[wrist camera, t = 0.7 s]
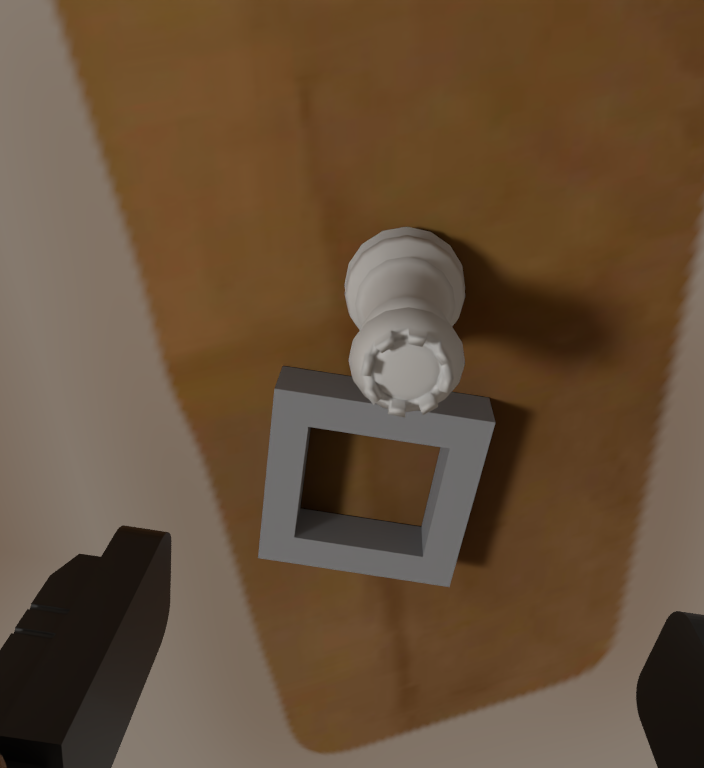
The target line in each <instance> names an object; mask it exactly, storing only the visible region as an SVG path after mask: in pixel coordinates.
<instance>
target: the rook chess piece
mask: <svg viewBox="0 0 704 768" xmlns="http://www.w3.org/2000/svg"><path fill="white" fill-rule="evenodd" d="M344 286H345V297H346V302H347V307H348V311H349V315H350V317H351V318H352V320H353V321H354V323H355V324H356V325H357V327H358V328H359V330H360V331H359V333H358V334H357V335H356V337H355V338H354V339H353V342H352V347H351V352H350V356H349V364H350V369H351V373H352V378H353V381H354V382H355V384H356V385H357V386H358V388H359V389H360V390H361V392H362V393H363V395H364V396H365V397H366V398H368V399H369V400H370V401H371V403H372V404H373V405H374V404H375V403H376V404H377V405H379V406H381V407H382V408H386V409H388V414H390V415H395V416H399V417H404V418H405V412H411V411H418V410H421V412H422V415H424V414H426V413H428V412H430V411H432V410H434V409H436V408H437V407H438V403H439V402H441V401H443V400H445V399H446V398H447V396H448V395H449V394H450V393H451V392H452V391H453V389H454V388H455V387H456V386H457V385H458V384H459V381H460V378H461V375H462V372H463V368H464V365H465V359H464V352H463V344H462V342H461V340H460V338H459V337H458V335H457V334H456V332H455V331H454V329H453V327H452V326H453V325H454V324H455V323H456V321H457V320H458V318H459V316H460V313H461V309H462V306H463V302H464V299H465V283H464V275H463V267H462V264H461V263H460V261H459V259H458V258H457V256H456V254H455V253H454V251H453V249H452V248H451V246H450V245H449V244H447V243H446V242H444V241H443V240H442V239H440V238H439V237H437V236H436V235H434V234H433V233H432V232H429V231H424V230H420V229H415V228H411V227H402V228H397V229H391V230H386V231H382V232H380V233H379V234H377V235H376V236H374V237H373V238H371V239H370V240H368V241H366V242H365V243H363V244H362V245H361V247H360V248H359V250H358V251H357V253H356V254H355V255H354V257H353V258H352V260H351V261H350V263H349V266H348V271H347V276H346V281H345V285H344Z"/></svg>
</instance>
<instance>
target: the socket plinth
mask: <svg viewBox="0 0 704 768" xmlns="http://www.w3.org/2000/svg"><path fill="white" fill-rule="evenodd" d="M494 426H495V419H494V415H493V411H492V407H491V403H490V399H489V398H487V397H481V396H474V395H468V394H461V393H455V392H451V393H450V394H449V395H448V396H447V398H446V399H445V400H443V401H441V402H439V403H438V407H437V408H436V409H434V410H432V411H430V412H428V413H426V414H424V415H422V412H421V410H418V411H411V412H405V418H404V417H399V416H395V415H390V414H388V409H386V408H382V407H381V406H379V405H377V404H376V403H375V404H374V405H373V404H372V403H371V401H370V400H369V399H368V398H366V397H365V396H364V395H363V393H362V392H361V390H360V389H359V388H358V386H357V385H356V384H355V382H354V381H353V378H352V377H351V376H345V375H338V374H332V373H325V372H319V371H312V370H306V369H299V368H293V367H286V366H283V367H282V370H281V372H280V375H279V378H278V381H277V383H276V386H275V390H274V400H273V410H272V420H271V431H270V441H269V451H268V462H267V472H266V482H265V493H264V503H263V513H262V524H261V534H260V544H259V555H258V558H262V559H269V560H275V561H282V562H288V563H295V564H302V565H308V566H315V567H321V568H328V569H335V570H341V571H348V572H354V573H361V574H367V575H374V576H381V577H387V578H394V579H400V580H407V581H414V582H420V583H427V584H433V585H440V586H446V587H449V586H450V583H451V579H452V576H453V572H454V568H455V565H456V561H457V558H458V554H459V551H460V547H461V544H462V540H463V536H464V533H465V529H466V526H467V522H468V519H469V515H470V512H471V508H472V504H473V501H474V497H475V494H476V490H477V487H478V483H479V480H480V476H481V472H482V469H483V465H484V462H485V458H486V455H487V451H488V448H489V444H490V440H491V437H492V433H493V430H494ZM311 427H313V428H319V429H326V430H332V431H339V432H345V433H352V434H358V435H365V436H371V437H378V438H384V439H391V440H397V441H404V442H410V443H417V444H423V445H430V446H436V447H441V448H440V452H439V457H438V461H437V465H436V469H435V473H434V477H433V481H432V486H431V490H430V494H429V498H428V502H427V506H426V510H425V515H424V519H423V523H422V527H419V526H412V525H406V524H399V523H393V522H386V521H380V520H373V519H367V518H360V517H353V516H347V515H340V514H334V513H327V512H321V511H314V510H308V509H301V508H300V507H301V499H302V491H303V484H304V476H305V468H306V461H307V453H308V445H309V438H310V430H311Z"/></svg>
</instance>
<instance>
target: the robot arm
mask: <svg viewBox="0 0 704 768" xmlns="http://www.w3.org/2000/svg"><path fill="white" fill-rule="evenodd" d="M170 581H171V536H170V533H168V532H162V531H155V530H150V529H142V528H136V527H129V526H121V527H120V528H119V529H118V530H117V532H116V533H115V534H114V536H113V538H112V540H111V541H110V543H109V545H108V546H107V548H106V550H105V551H104V553H103V555H102V556H101V557H98V556H91V555H84V554H79V555H77V556H76V557H75V558H73V559H72V560H71V561H69V562H68V563H66V564H65V565H64V566H63V567H61V568H60V569H58V570H57V571H56V572H54V573H53V574H52V575H50V577H49V578H48V580H47V581H46V582H45V584H44V586H43V587H42V589H41V590H40V591H39V593H38V594H37V596H36V597H35V599H34V601H33V602H32V603H31V608H30V610H27V611H26V612H25V614H24V615H23V617H22V618H21V620H20V621H19V623H18V624H17V626H16V627H15V632H14V634H11V635H10V636H9V638H8V639H7V641H6V642H5V644H4V645H3V647H2V648H1V650H0V768H111V767H112V764H113V762H114V759H115V757H116V754H117V752H118V749H119V747H120V744H121V742H122V739H123V737H124V735H125V732H126V730H127V727H128V725H129V722H130V720H131V717H132V715H133V712H134V709H135V707H136V705H137V702H138V700H139V697H140V695H141V692H142V690H143V687H144V685H145V682H146V680H147V677H148V675H149V672H150V670H151V667H152V665H153V663H154V660H155V657H156V655H157V652H158V650H159V648H160V645H161V642H162V639H163V636H164V633H165V629H166V625H167V620H168V615H169V608H170ZM636 700H637V708H638V714H639V717H640V721H641V723H642V726H643V729H644V731H645V734H646V737H647V739H648V742H649V745H650V748H651V750H652V753H653V756H654V758H655V761H656V764H657V766H658V768H704V615H700V614H693V613H686V612H680V611H676V612H673V613H672V614H671V615H670V616H669V617H668V619H667V620H666V622H665V624H664V626H663V628H662V630H661V633H660V635H659V637H658V639H657V641H656V643H655V645H654V647H653V649H652V651H651V653H650V655H649V657H648V659H647V661H646V663H645V666H644V667H643V669H642V671H641V673H640V676H639V679H638V683H637V692H636Z"/></svg>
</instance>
